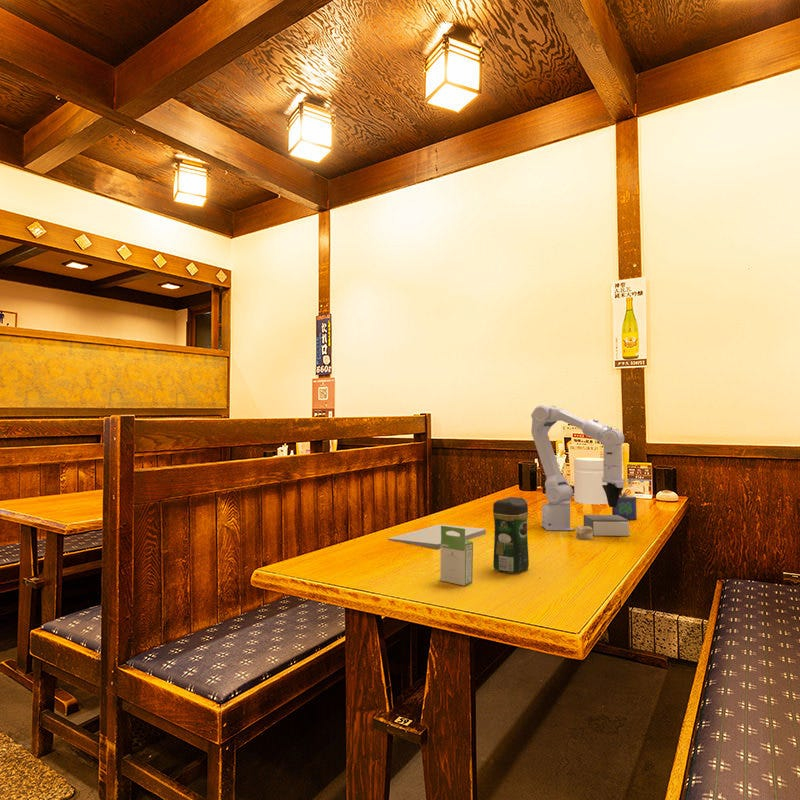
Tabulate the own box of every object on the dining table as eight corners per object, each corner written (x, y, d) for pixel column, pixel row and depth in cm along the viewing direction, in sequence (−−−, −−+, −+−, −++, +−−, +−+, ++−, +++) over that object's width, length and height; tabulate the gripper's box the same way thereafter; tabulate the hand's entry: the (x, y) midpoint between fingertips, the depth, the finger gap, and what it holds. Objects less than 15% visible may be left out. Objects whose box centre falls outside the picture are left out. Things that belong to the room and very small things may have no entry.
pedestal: (580, 539, 175) (580, 528, 175) (576, 536, 179) (576, 526, 179) (592, 539, 175) (592, 528, 175) (588, 536, 179) (588, 526, 179)
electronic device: (438, 551, 161) (438, 544, 161) (387, 541, 174) (387, 534, 174) (486, 534, 184) (486, 528, 184) (438, 527, 196) (438, 521, 196)
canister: (586, 498, 264) (585, 457, 264) (617, 502, 252) (616, 459, 252) (567, 501, 253) (567, 458, 254) (599, 506, 241) (598, 461, 242)
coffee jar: (505, 563, 147) (505, 494, 147) (532, 568, 142) (532, 497, 143) (488, 570, 139) (488, 498, 140) (516, 576, 134) (516, 501, 135)
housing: (592, 535, 181) (592, 519, 182) (583, 529, 190) (583, 514, 191) (628, 535, 181) (628, 519, 181) (617, 529, 190) (617, 515, 190)
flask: (635, 519, 211) (634, 491, 211) (638, 520, 208) (637, 492, 208) (611, 518, 211) (610, 491, 211) (613, 520, 208) (613, 492, 208)
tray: (594, 535, 180) (594, 522, 180) (585, 529, 189) (585, 517, 189) (629, 535, 180) (629, 522, 180) (618, 530, 189) (618, 517, 189)
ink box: (473, 582, 129) (473, 526, 130) (464, 586, 126) (464, 529, 127) (448, 577, 134) (448, 522, 134) (439, 581, 130) (440, 525, 131)
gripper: (633, 468, 173) (633, 510, 172) (616, 463, 187) (616, 503, 187) (611, 467, 173) (611, 510, 172) (596, 463, 187) (596, 502, 187)
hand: (612, 506), depth 180 cm, fingers closed
